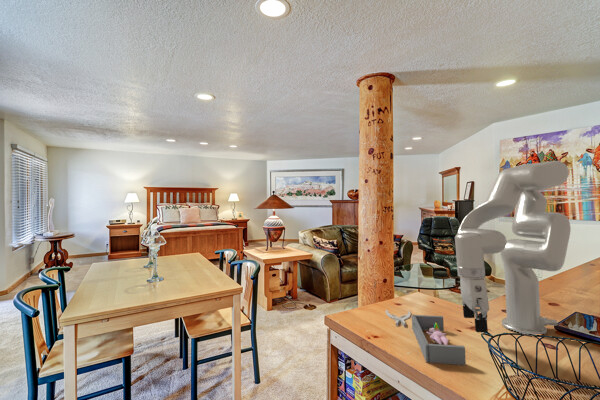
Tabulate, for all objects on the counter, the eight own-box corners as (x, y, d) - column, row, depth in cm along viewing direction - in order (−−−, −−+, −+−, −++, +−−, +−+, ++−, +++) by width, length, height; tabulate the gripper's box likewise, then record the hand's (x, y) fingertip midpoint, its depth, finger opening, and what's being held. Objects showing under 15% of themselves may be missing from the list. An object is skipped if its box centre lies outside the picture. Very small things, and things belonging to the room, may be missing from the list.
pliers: (409, 308, 118) (414, 324, 104) (409, 312, 118) (414, 328, 104) (385, 307, 121) (386, 322, 106) (385, 311, 121) (387, 326, 106)
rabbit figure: (424, 335, 101) (432, 350, 86) (423, 317, 102) (431, 329, 87) (443, 336, 99) (455, 352, 85) (441, 318, 100) (453, 331, 86)
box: (443, 329, 101) (442, 316, 101) (465, 365, 80) (465, 347, 80) (412, 328, 103) (411, 314, 103) (426, 362, 82) (425, 345, 82)
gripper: (497, 279, 80) (501, 338, 80) (473, 264, 97) (476, 312, 97) (468, 280, 82) (473, 338, 82) (449, 264, 99) (453, 312, 99)
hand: (475, 324), depth 90 cm, fingers open, 9 cm apart
